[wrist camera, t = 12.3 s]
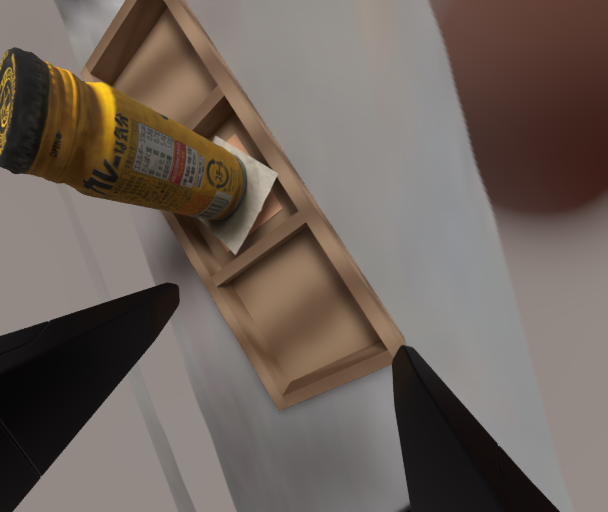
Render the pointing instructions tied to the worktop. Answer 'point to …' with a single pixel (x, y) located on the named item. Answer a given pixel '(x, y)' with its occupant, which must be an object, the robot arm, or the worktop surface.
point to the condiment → (123, 149)
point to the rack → (269, 222)
